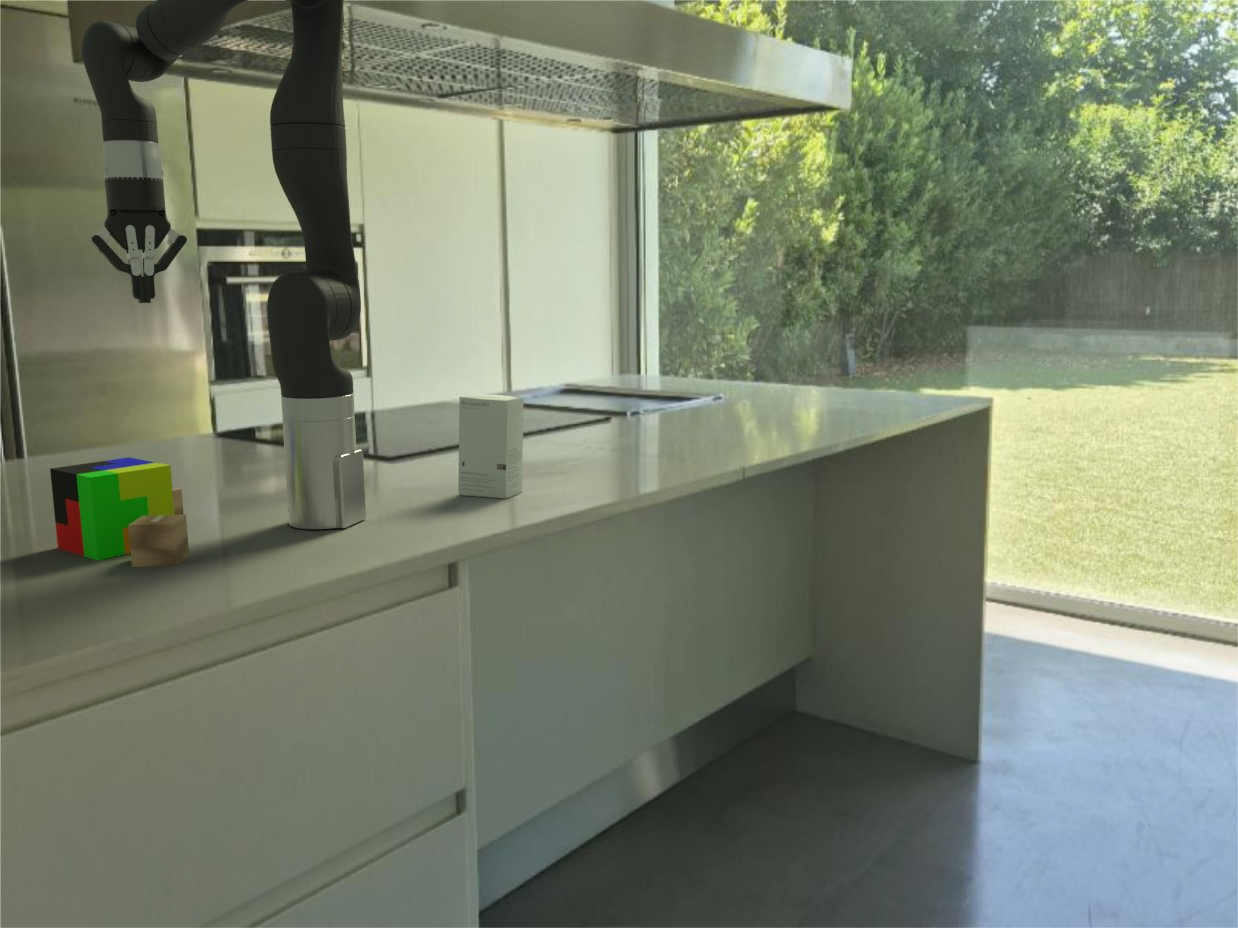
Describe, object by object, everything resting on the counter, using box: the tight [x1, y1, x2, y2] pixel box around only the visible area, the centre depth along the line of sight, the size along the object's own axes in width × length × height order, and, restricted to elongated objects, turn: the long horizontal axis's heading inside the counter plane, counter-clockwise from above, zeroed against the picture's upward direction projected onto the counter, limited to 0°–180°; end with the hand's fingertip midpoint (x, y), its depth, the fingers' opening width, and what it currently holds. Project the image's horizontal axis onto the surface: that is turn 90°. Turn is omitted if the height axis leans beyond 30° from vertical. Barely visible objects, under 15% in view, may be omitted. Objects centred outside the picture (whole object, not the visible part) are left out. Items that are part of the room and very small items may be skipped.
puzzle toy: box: [49, 456, 174, 561], centre depth 139 cm, size 10×10×10 cm
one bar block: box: [128, 514, 190, 568], centre depth 132 cm, size 5×5×5 cm
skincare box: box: [458, 393, 525, 499], centre depth 167 cm, size 8×6×15 cm
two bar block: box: [172, 487, 185, 515], centre depth 149 cm, size 5×5×5 cm
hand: (144, 302), depth 159 cm, fingers closed
